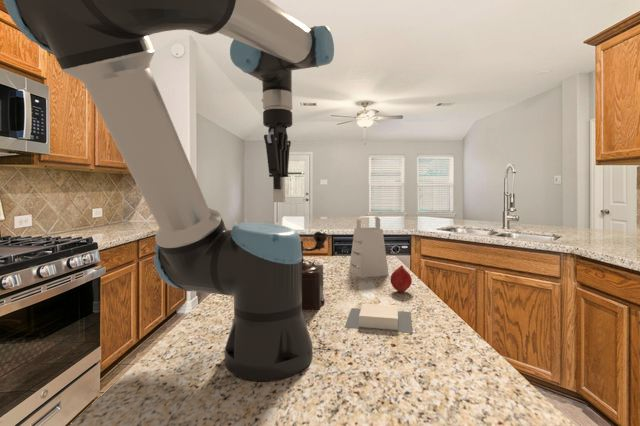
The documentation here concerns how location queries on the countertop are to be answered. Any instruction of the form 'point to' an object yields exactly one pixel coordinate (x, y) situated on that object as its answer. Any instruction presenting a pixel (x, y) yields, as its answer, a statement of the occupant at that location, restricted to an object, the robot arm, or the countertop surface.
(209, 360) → the countertop surface
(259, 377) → the robot arm
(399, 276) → the onion
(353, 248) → the grater
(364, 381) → the countertop surface
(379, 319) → the tile
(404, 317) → the mat
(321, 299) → the manual coffee grinder
